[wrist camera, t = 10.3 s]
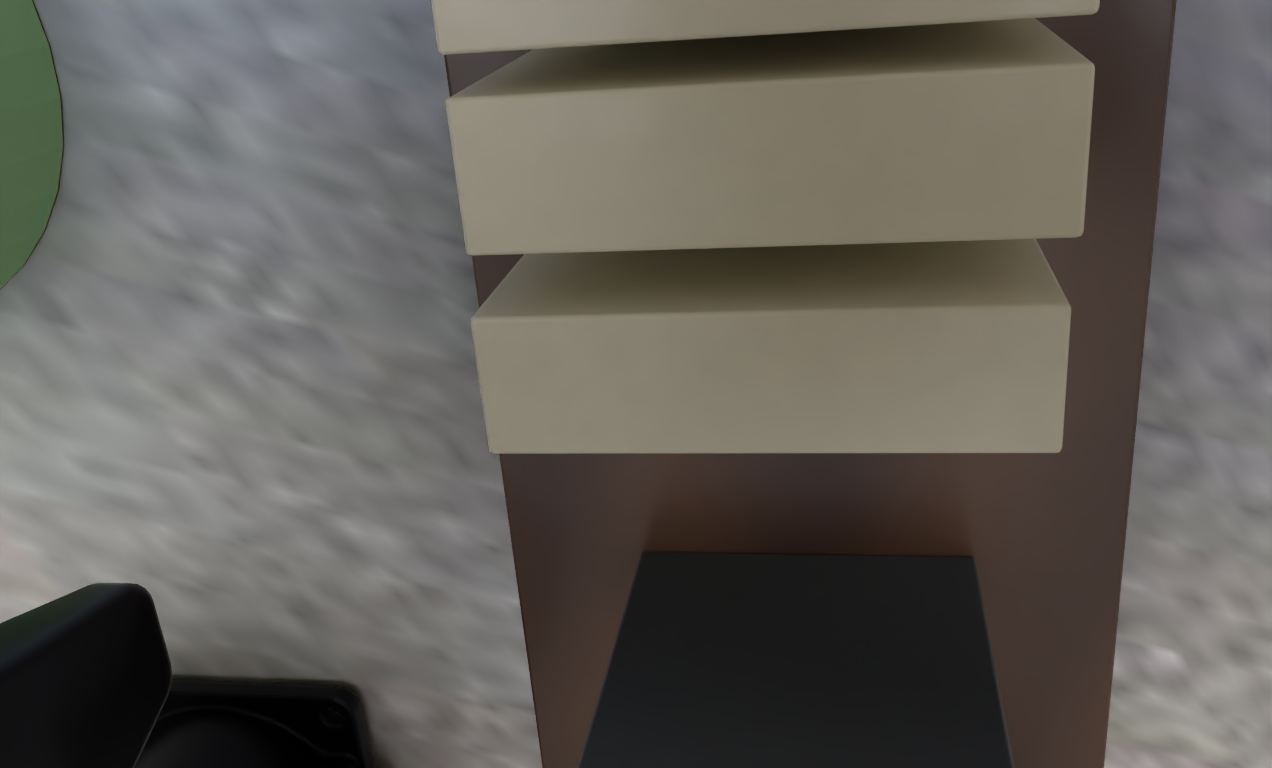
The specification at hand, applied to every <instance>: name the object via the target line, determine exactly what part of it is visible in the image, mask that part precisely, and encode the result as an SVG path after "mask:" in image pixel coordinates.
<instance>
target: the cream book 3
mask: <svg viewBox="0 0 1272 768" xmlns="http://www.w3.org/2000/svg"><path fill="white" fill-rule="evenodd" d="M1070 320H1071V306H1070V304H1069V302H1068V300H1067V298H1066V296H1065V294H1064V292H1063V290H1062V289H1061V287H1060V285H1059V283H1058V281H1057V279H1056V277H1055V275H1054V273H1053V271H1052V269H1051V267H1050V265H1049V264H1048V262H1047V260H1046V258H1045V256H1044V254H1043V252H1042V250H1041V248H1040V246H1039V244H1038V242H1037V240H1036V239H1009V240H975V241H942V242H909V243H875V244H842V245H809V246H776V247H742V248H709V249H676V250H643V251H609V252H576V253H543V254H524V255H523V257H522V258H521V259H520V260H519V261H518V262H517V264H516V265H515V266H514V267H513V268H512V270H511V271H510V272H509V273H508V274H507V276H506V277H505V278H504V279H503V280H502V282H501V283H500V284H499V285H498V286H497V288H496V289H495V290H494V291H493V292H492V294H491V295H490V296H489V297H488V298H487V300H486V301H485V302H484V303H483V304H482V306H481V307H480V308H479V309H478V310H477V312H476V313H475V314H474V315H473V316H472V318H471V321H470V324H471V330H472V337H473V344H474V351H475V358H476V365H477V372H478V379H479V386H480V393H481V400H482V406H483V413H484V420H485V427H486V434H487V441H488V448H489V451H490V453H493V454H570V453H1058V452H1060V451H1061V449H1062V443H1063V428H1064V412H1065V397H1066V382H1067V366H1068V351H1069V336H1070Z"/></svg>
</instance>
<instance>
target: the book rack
mask: <svg viewBox="0 0 1272 768" xmlns="http://www.w3.org/2000/svg"><path fill="white" fill-rule="evenodd" d="M1175 9H1176V0H1100V6H1099V9H1098V11H1097V12H1096V13H1094V14H1092V15H1077V16H1061V17H1045V18H1035V19H1036V20H1038V21H1039V22H1040V23H1042V24H1043V25H1044V26H1046V27H1047V28H1048V29H1049V30H1051V31H1052V32H1053V33H1055V34H1056V35H1057V36H1058V37H1060V38H1061V39H1062V40H1064V41H1065V42H1066V43H1067V44H1069V45H1070V46H1071V47H1073V48H1074V49H1075V50H1077V51H1078V52H1079V53H1080V54H1082V55H1083V56H1084V57H1086V58H1087V59H1088V60H1089V61H1091V62H1092V63H1093V64H1094V67H1095V76H1094V90H1093V105H1092V119H1091V133H1090V147H1089V161H1088V176H1087V190H1086V204H1085V218H1084V231H1083V233H1082V235H1081V236H1079V237H1075V238H1042V239H1036V240H1037V242H1038V244H1039V246H1040V248H1041V250H1042V252H1043V254H1044V256H1045V258H1046V260H1047V262H1048V264H1049V265H1050V267H1051V269H1052V271H1053V273H1054V275H1055V277H1056V279H1057V281H1058V283H1059V285H1060V287H1061V289H1062V290H1063V292H1064V294H1065V296H1066V298H1067V300H1068V302H1069V304H1070V306H1071V320H1070V336H1069V351H1068V366H1067V382H1066V397H1065V412H1064V428H1063V443H1062V449H1061V451H1060V452H1058V453H570V454H499V455H500V462H501V469H502V476H503V484H504V491H505V498H506V505H507V513H508V520H509V527H510V534H511V542H512V549H513V556H514V563H515V570H516V578H517V585H518V592H519V599H520V607H521V614H522V621H523V628H524V636H525V643H526V650H527V657H528V664H529V672H530V679H531V686H532V693H533V701H534V708H535V715H536V722H537V730H538V737H539V744H540V751H541V758H542V766H543V768H577V767H578V764H579V760H580V757H581V754H582V750H583V747H584V744H585V740H586V737H587V734H588V730H589V727H590V724H591V720H592V717H593V713H594V710H595V707H596V703H597V700H598V697H599V693H600V690H601V687H602V683H603V680H604V677H605V673H606V670H607V666H608V663H609V660H610V656H611V653H612V650H613V646H614V643H615V640H616V636H617V633H618V630H619V626H620V623H621V620H622V616H623V613H624V609H625V606H626V603H627V599H628V596H629V593H630V589H631V586H632V583H633V579H634V576H635V573H636V569H637V566H638V562H639V559H640V556H641V553H642V552H671V553H732V554H793V555H854V556H915V557H972V558H974V559H975V562H976V567H977V573H978V578H979V583H980V588H981V594H982V599H983V604H984V609H985V615H986V620H987V625H988V631H989V636H990V641H991V646H992V652H993V657H994V662H995V667H996V673H997V678H998V683H999V689H1000V694H1001V699H1002V704H1003V710H1004V715H1005V720H1006V726H1007V731H1008V736H1009V741H1010V747H1011V752H1012V757H1013V762H1014V768H1104V760H1105V749H1106V739H1107V728H1108V717H1109V707H1110V696H1111V686H1112V675H1113V665H1114V654H1115V643H1116V633H1117V622H1118V612H1119V601H1120V591H1121V580H1122V569H1123V559H1124V548H1125V538H1126V527H1127V517H1128V506H1129V495H1130V485H1131V474H1132V464H1133V453H1134V443H1135V432H1136V421H1137V411H1138V400H1139V390H1140V379H1141V369H1142V358H1143V347H1144V337H1145V326H1146V316H1147V305H1148V295H1149V284H1150V273H1151V263H1152V252H1153V242H1154V231H1155V221H1156V210H1157V199H1158V189H1159V178H1160V168H1161V157H1162V147H1163V136H1164V125H1165V115H1166V104H1167V94H1168V83H1169V73H1170V62H1171V51H1172V41H1173V30H1174V20H1175ZM531 50H533V49H530V50H514V51H497V52H481V53H465V54H449V55H444V57H445V64H446V72H447V79H448V86H449V93H450V97H451V96H453V95H455V94H456V93H458V92H460V91H461V90H463V89H465V88H467V87H468V86H470V85H472V84H474V83H475V82H477V81H479V80H481V79H482V78H484V77H486V76H488V75H489V74H491V73H493V72H495V71H496V70H498V69H500V68H502V67H503V66H505V65H507V64H509V63H510V62H512V61H514V60H516V59H517V58H519V57H521V56H523V55H524V54H526V53H528V52H530V51H531ZM523 255H524V254H510V255H476V256H472V260H473V267H474V274H475V281H476V288H477V296H478V303H479V308H480V307H481V306H482V304H483V303H484V302H485V301H486V300H487V298H488V297H489V296H490V295H491V294H492V292H493V291H494V290H495V289H496V288H497V286H498V285H499V284H500V283H501V282H502V280H503V279H504V278H505V277H506V276H507V274H508V273H509V272H510V271H511V270H512V268H513V267H514V266H515V265H516V264H517V262H518V261H519V260H520V259H521V258H522V257H523Z"/></svg>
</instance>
